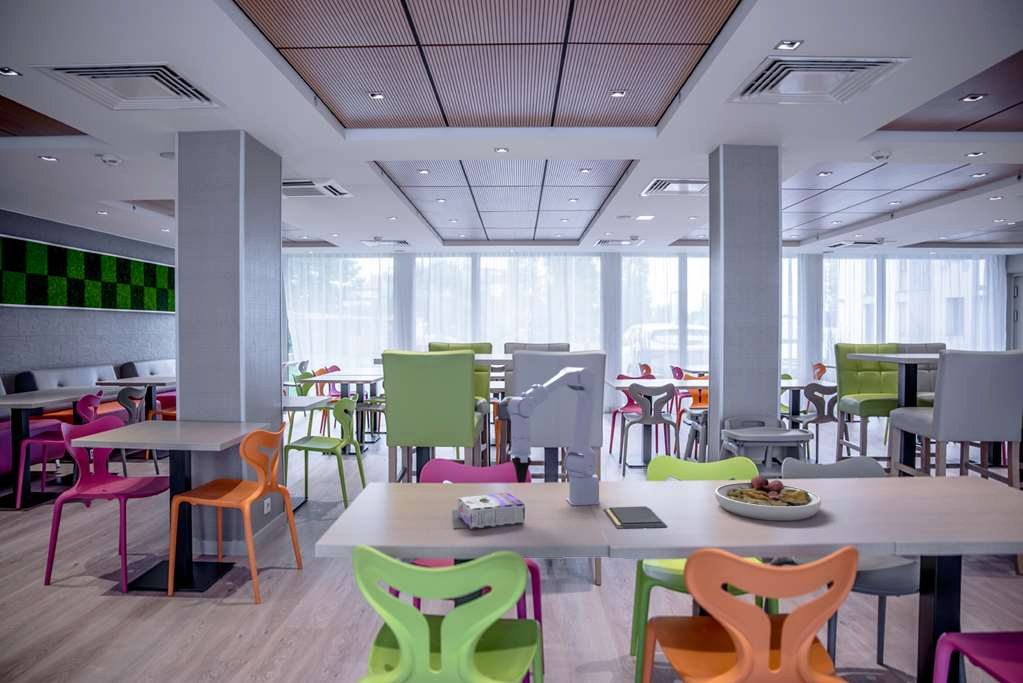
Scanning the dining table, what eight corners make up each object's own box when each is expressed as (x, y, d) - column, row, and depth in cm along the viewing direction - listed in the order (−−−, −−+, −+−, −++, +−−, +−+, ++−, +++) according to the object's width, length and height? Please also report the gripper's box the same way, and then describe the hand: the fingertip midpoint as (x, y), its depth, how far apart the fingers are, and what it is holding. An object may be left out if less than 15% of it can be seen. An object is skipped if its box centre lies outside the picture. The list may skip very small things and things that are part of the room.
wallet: (668, 523, 168) (614, 524, 168) (668, 530, 168) (614, 531, 168) (650, 504, 188) (602, 505, 188) (650, 510, 188) (602, 511, 188)
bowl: (835, 527, 169) (834, 499, 168) (722, 521, 175) (722, 494, 175) (805, 499, 198) (805, 475, 198) (710, 495, 204) (709, 472, 204)
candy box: (508, 510, 186) (457, 516, 181) (508, 491, 186) (457, 496, 181) (525, 523, 173) (470, 530, 168) (525, 503, 173) (470, 509, 168)
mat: (504, 509, 189) (504, 508, 189) (510, 526, 171) (510, 525, 171) (452, 511, 188) (452, 510, 188) (453, 529, 170) (453, 528, 170)
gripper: (505, 433, 188) (505, 477, 188) (510, 441, 173) (510, 488, 173) (527, 432, 188) (528, 476, 188) (534, 440, 174) (535, 487, 174)
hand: (521, 482), depth 181 cm, fingers closed
